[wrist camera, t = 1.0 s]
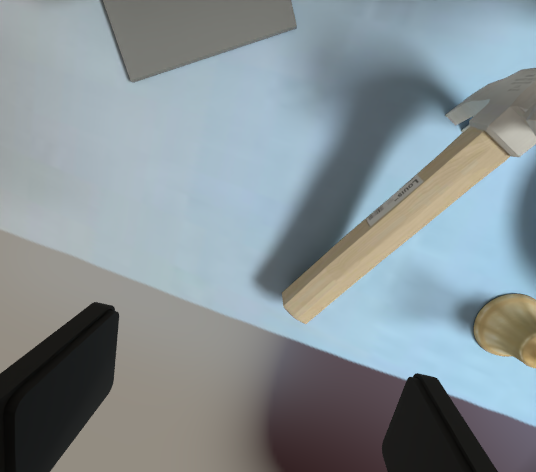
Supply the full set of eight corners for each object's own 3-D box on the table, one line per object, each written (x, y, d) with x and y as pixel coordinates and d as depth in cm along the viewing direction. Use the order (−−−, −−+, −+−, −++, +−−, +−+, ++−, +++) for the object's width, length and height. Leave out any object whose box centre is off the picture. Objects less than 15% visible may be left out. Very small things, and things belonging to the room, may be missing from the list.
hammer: (303, 368, 30) (672, 110, 17) (266, 339, 30) (616, 49, 16) (316, 280, 44) (524, 100, 31) (291, 259, 44) (491, 66, 30)
